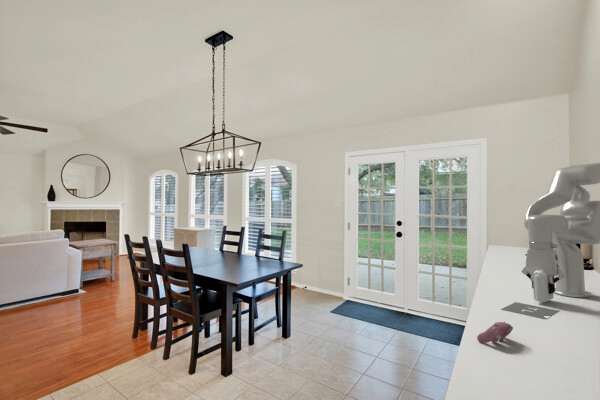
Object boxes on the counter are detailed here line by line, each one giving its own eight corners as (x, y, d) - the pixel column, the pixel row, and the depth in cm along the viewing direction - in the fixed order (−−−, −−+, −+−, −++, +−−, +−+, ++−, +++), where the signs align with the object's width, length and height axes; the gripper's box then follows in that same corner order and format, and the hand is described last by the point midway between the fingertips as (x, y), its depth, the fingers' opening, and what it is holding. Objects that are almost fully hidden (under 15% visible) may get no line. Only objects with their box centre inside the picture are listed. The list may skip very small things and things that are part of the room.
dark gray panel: (515, 302, 123) (515, 301, 123) (559, 311, 112) (559, 310, 112) (500, 309, 115) (500, 309, 115) (546, 320, 104) (546, 319, 104)
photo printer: (542, 296, 127) (540, 266, 127) (555, 298, 123) (553, 267, 124) (532, 300, 121) (530, 269, 122) (545, 303, 118) (543, 271, 118)
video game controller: (489, 352, 85) (499, 333, 83) (474, 339, 89) (484, 321, 87) (508, 343, 90) (519, 325, 88) (493, 332, 94) (503, 314, 91)
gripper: (570, 247, 118) (573, 294, 118) (520, 244, 132) (522, 286, 131) (564, 249, 114) (567, 298, 113) (513, 245, 128) (515, 289, 127)
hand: (543, 291), depth 122 cm, fingers closed on photo printer, 4 cm apart
